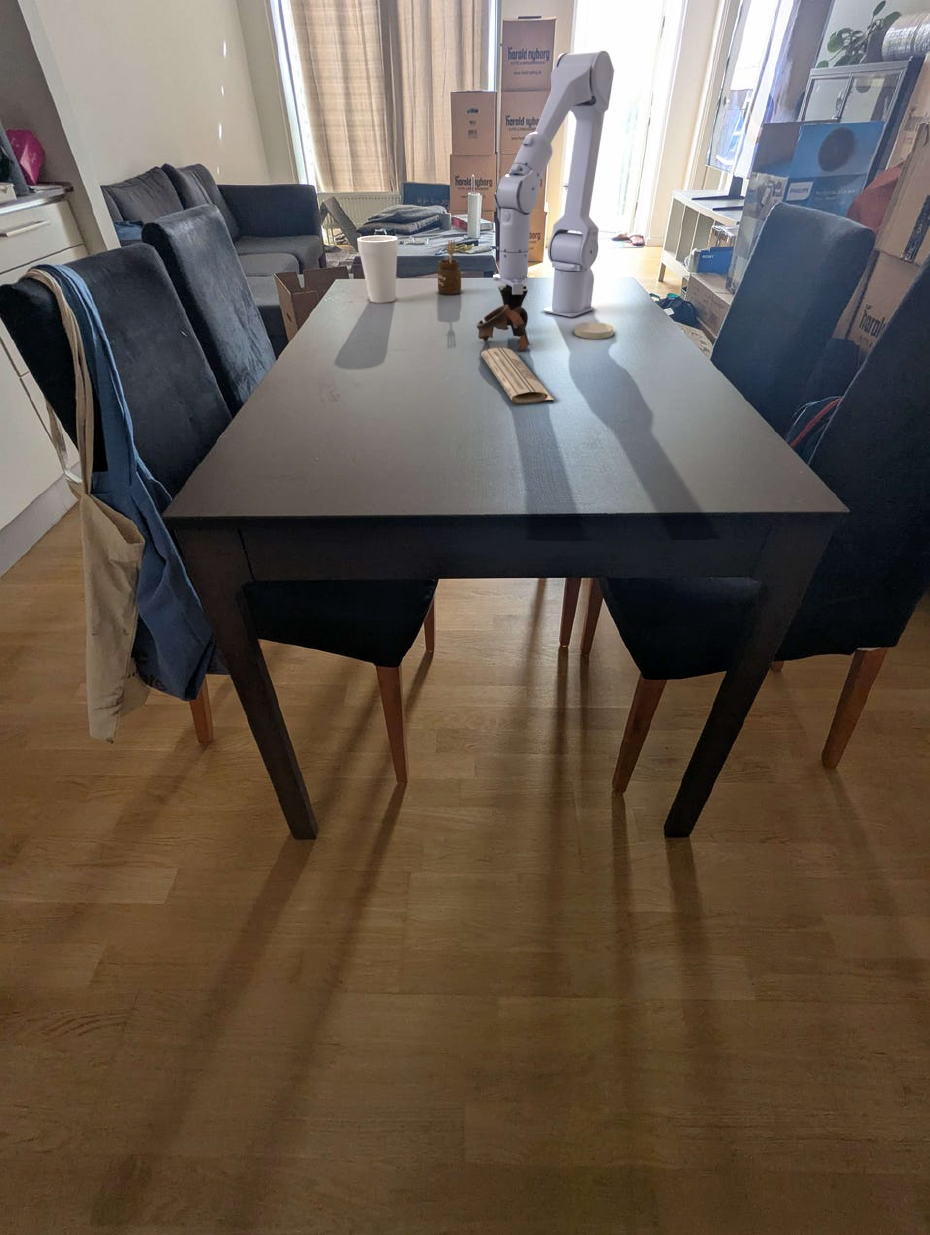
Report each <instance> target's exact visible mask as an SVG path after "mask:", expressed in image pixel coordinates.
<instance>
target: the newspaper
mask: <svg viewBox="0 0 930 1235" xmlns="http://www.w3.org/2000/svg"><path fill="white" fill-rule="evenodd" d="M481 357H482V358H483V360H484V361H485V363H486V364H487V366H488V367H489V369H490V370H491V372H492V373H493V374H494V377H495V378H496V379H497V381H498V382H499V384H500V385H501V387H502V388H503V390H504V391H505V393H506V394H507V396H508V397H509V399H510V400H511V401H512V402H513V403H515V404H530V403H540V402H544V401H551V400H552V401H555V399H554V398H553V397H552V396H551V394H550V393H549V392H548V391H547V390H546V388H545V387H544V386H543V385H542V383H541V382H540V381H539V379H538V378H537V377H536V376H535V374H534V373H533V372H532V371H531V370H530V369H529V367H528V366H527V364H525V362H524V361H523V360H522V358H520V356H519V355H517V354H516V353H515V352H514V351H513V350H512V349H510V348H507V347H492V348H489V349H485V350H482V351H481Z"/></svg>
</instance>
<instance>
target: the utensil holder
mask: <svg viewBox="0 0 930 1235" xmlns="http://www.w3.org/2000/svg"><path fill="white" fill-rule="evenodd" d="M455 241H456V240H455V239H451V240H450V239H449V240H447V241H446V240H445V241H444V242H443V244H447V248H445V245H442V249H445V252H444V255H448V256H449V258H448V257H446V256H443V257H444V259H441V260H439V261H438V270H437V291H438V293H439V294H441V295H446V296H447V295H448V296H449V295H458V294H461V292H462V272H461V269H460V261H459V260H458V259H453V255H454V254H455V245H456V242H455Z"/></svg>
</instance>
